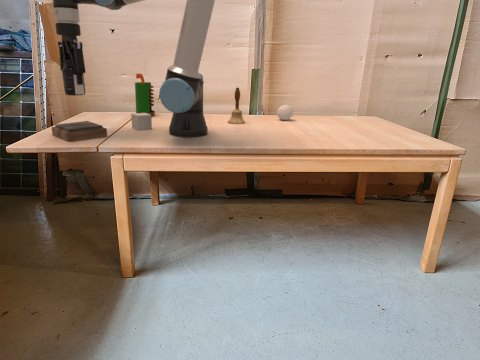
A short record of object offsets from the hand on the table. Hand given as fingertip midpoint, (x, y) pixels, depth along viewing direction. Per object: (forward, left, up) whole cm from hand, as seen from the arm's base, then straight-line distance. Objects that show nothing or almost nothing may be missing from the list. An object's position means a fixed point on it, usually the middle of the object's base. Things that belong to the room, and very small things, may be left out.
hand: (75, 93), depth 131 cm
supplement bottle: (0, 0, -1) cm, 1 cm away
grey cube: (-2, -25, -16) cm, 30 cm away
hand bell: (-16, -67, -16) cm, 71 cm away
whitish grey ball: (-26, -91, -16) cm, 96 cm away
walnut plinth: (0, 0, -15) cm, 15 cm away
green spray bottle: (+24, -44, -16) cm, 53 cm away
